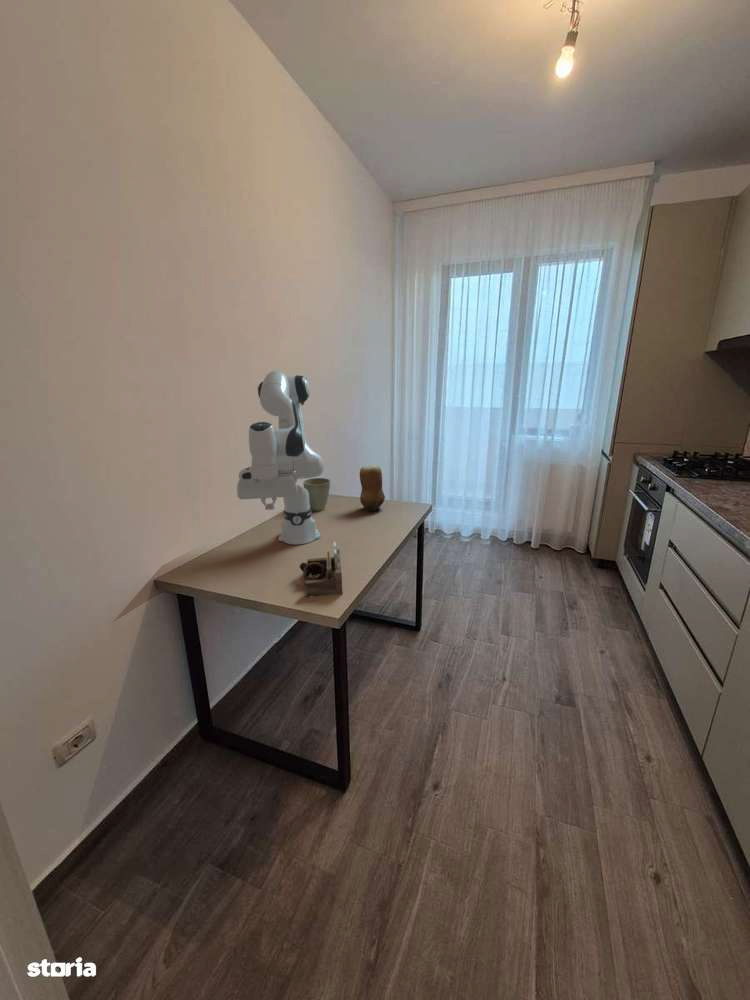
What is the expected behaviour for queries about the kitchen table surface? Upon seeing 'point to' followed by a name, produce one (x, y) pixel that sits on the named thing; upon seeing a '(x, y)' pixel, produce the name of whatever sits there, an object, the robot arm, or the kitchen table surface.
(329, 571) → the grey flat panel
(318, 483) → the plant pot
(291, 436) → the robot arm
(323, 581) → the stand
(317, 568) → the pottery mug
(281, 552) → the kitchen table surface
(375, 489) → the butternut squash
